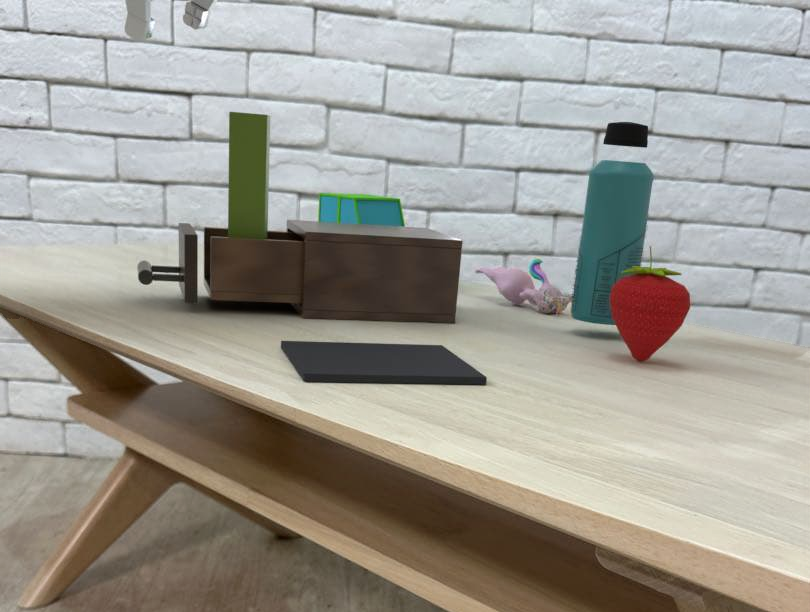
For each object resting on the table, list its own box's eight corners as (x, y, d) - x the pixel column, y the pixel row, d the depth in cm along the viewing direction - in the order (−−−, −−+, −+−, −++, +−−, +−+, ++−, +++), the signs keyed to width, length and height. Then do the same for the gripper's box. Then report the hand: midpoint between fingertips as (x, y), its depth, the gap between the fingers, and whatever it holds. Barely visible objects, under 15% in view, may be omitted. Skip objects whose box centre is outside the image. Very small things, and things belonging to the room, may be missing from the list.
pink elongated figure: (582, 326, 113) (495, 285, 123) (596, 275, 111) (506, 236, 120) (544, 329, 110) (457, 286, 119) (557, 276, 107) (468, 236, 116)
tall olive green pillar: (227, 288, 98) (229, 111, 92) (232, 280, 103) (234, 113, 97) (263, 290, 98) (267, 114, 92) (266, 282, 104) (270, 115, 98)
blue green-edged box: (385, 291, 118) (391, 203, 114) (309, 275, 126) (313, 192, 123) (441, 287, 125) (448, 204, 122) (366, 273, 133) (371, 194, 130)
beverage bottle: (617, 343, 97) (651, 122, 90) (555, 332, 100) (583, 117, 93) (640, 335, 102) (674, 126, 95) (580, 325, 106) (608, 122, 98)
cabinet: (302, 318, 97) (305, 231, 94) (284, 297, 108) (286, 219, 105) (455, 323, 101) (462, 240, 98) (422, 302, 112) (428, 228, 109)
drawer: (138, 301, 93) (137, 231, 91) (137, 283, 103) (136, 220, 101) (335, 308, 98) (338, 242, 96) (315, 291, 108) (318, 230, 106)
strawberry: (654, 373, 85) (674, 252, 81) (585, 355, 90) (602, 240, 86) (693, 367, 89) (715, 251, 85) (626, 351, 94) (643, 240, 90)
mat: (303, 381, 72) (304, 373, 72) (280, 347, 83) (280, 340, 83) (486, 384, 76) (487, 377, 76) (441, 351, 86) (442, 345, 86)
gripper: (236, -158, 87) (195, 4, 96) (101, -171, 71) (66, 25, 79) (297, -123, 87) (251, 36, 95) (176, -128, 71) (133, 63, 79)
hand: (166, 31), depth 87 cm, fingers open, 8 cm apart
